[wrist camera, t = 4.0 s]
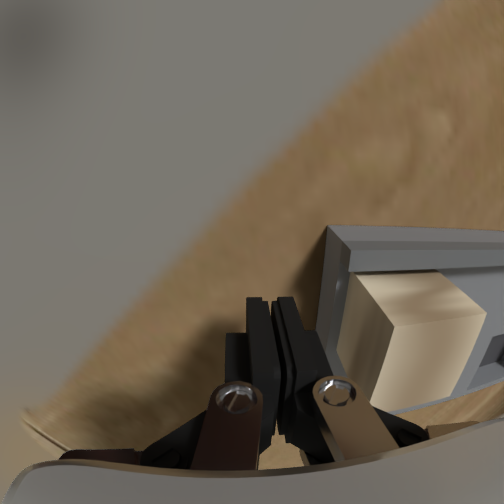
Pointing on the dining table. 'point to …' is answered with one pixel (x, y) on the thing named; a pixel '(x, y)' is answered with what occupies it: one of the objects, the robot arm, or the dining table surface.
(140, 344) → the dining table surface
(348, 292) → the ash cube
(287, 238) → the dining table surface
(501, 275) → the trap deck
